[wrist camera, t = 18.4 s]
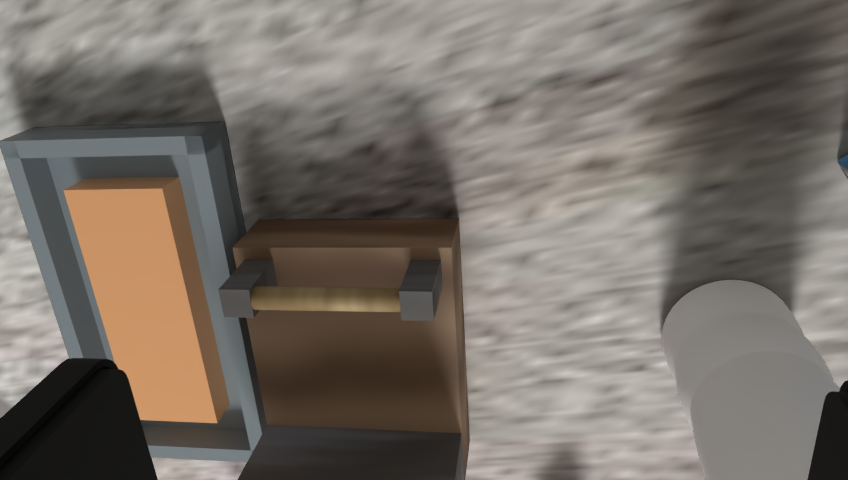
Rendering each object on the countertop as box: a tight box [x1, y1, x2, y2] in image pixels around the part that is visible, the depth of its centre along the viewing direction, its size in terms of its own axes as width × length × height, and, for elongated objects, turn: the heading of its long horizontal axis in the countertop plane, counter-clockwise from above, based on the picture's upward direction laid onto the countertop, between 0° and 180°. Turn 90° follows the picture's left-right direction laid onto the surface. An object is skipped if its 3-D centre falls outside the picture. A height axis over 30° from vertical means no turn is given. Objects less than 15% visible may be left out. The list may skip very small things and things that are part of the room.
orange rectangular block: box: [64, 177, 230, 423], centre depth 42 cm, size 16×6×2 cm, turn 4°
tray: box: [0, 122, 267, 462], centre depth 42 cm, size 22×12×3 cm, turn 4°
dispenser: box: [218, 218, 470, 480], centre depth 36 cm, size 16×12×14 cm
